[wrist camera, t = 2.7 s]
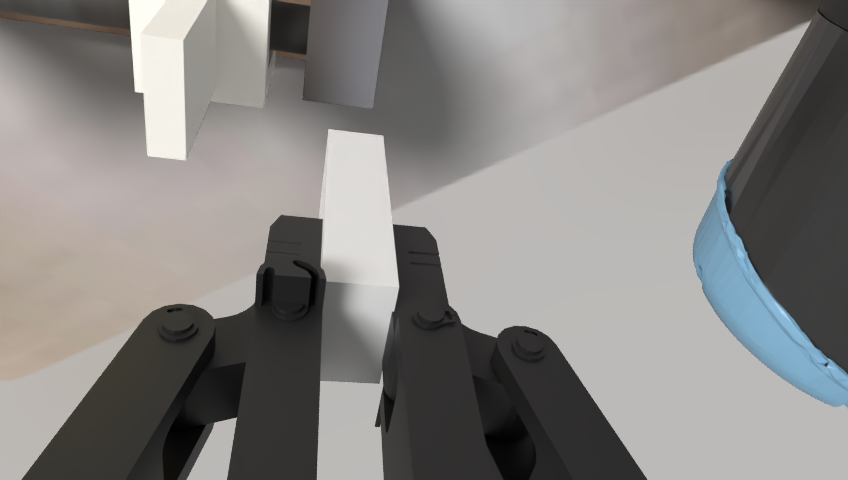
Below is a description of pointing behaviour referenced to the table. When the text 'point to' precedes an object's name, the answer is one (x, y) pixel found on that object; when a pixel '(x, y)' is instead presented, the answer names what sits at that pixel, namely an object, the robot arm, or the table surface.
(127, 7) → the cord rack
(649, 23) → the table surface
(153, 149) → the sleeve
